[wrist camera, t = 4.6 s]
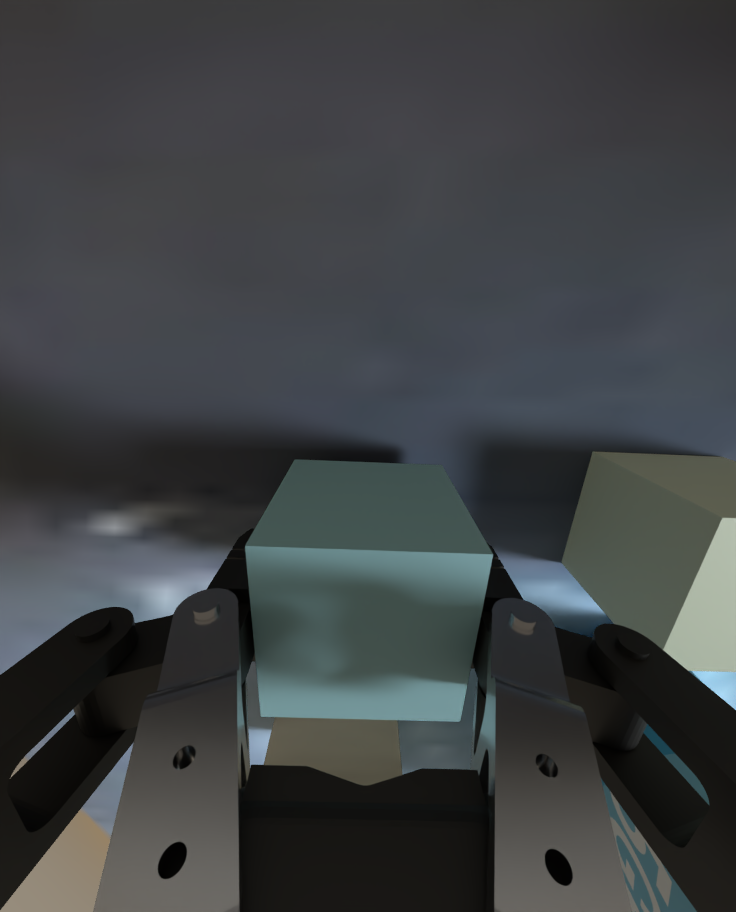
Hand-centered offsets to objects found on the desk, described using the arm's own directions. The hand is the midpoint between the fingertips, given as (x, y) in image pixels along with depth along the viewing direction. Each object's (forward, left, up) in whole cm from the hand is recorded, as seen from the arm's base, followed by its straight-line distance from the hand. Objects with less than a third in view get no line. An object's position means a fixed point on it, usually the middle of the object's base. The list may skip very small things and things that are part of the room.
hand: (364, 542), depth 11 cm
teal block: (0, 0, -1) cm, 1 cm away
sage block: (-5, +10, -2) cm, 11 cm away
